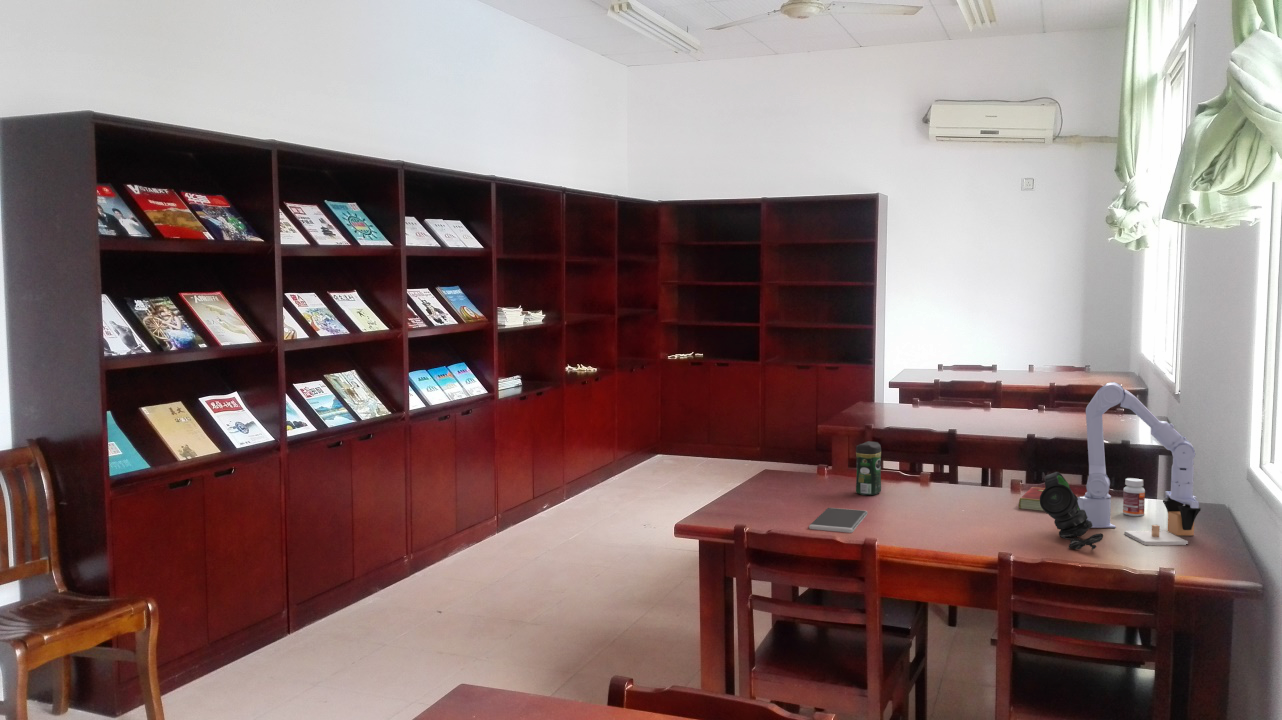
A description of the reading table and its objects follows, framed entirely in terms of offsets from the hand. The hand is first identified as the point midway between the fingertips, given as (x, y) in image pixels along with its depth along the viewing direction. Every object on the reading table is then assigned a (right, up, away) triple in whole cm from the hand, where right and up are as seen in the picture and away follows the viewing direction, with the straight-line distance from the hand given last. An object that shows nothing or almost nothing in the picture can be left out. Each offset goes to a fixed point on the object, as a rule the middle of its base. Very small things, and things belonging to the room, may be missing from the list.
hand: (1180, 526), depth 281 cm
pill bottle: (-2, 0, +24) cm, 24 cm away
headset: (-34, -3, -5) cm, 35 cm away
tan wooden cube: (0, -2, 0) cm, 2 cm away
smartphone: (-98, -2, +18) cm, 99 cm away
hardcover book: (-24, 0, +39) cm, 46 cm away
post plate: (-11, -3, -7) cm, 13 cm away
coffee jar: (-79, +1, +59) cm, 98 cm away
